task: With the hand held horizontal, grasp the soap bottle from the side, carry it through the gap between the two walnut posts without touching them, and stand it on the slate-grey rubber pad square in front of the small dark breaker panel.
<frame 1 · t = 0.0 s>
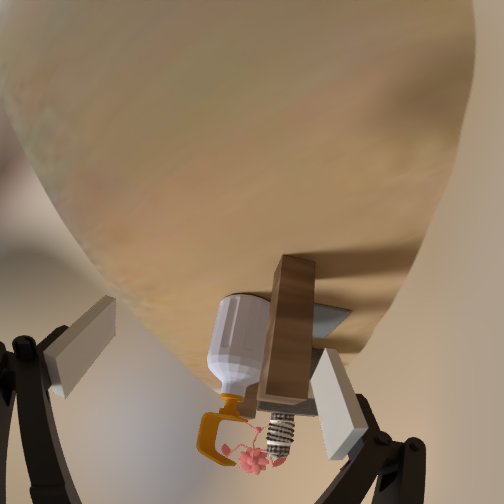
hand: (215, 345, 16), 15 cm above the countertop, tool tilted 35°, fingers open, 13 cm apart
breaker panel: (295, 347, 54), on the countertop
figurine: (263, 397, 105), on the countertop
gate: (270, 312, 44), on the countertop
decorative candle: (286, 389, 87), on the countertop
pad: (308, 320, 44), on the countertop
soap bottle: (248, 306, 44), on the countertop
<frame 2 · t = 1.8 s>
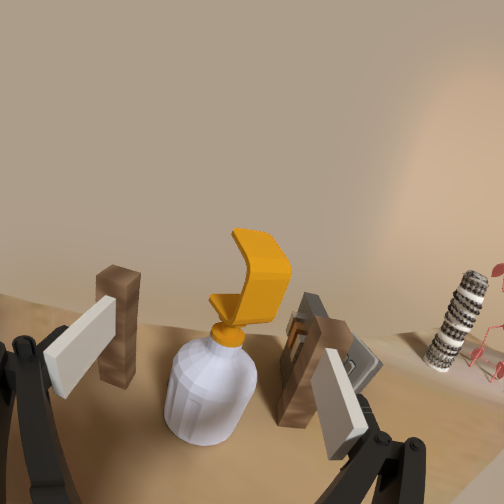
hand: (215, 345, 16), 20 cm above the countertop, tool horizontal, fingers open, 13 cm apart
breaker panel: (288, 381, 42), on the countertop
figurine: (485, 369, 53), on the countertop
gate: (202, 402, 33), on the countertop
decorative candle: (435, 363, 55), on the countertop
electrical switch: (340, 384, 44), on the countertop
soap bottle: (198, 419, 30), on the countertop
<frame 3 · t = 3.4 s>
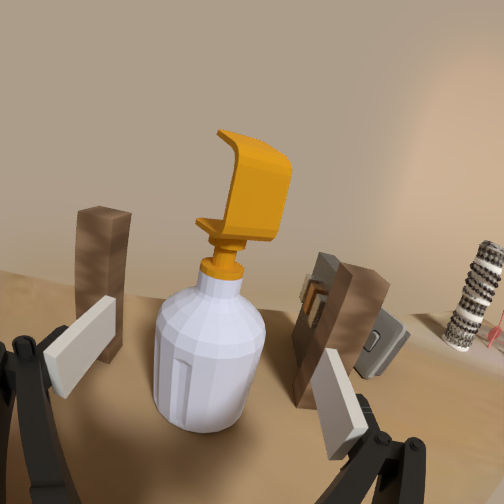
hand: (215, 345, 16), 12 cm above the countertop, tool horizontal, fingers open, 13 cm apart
breaker panel: (304, 357, 37), on the countertop
figurine: (503, 351, 48), on the countertop
gate: (203, 380, 28), on the countertop
decorative candle: (454, 343, 50), on the countertop
electrical switch: (361, 362, 38), on the countertop
soap bottle: (198, 402, 25), on the countertop
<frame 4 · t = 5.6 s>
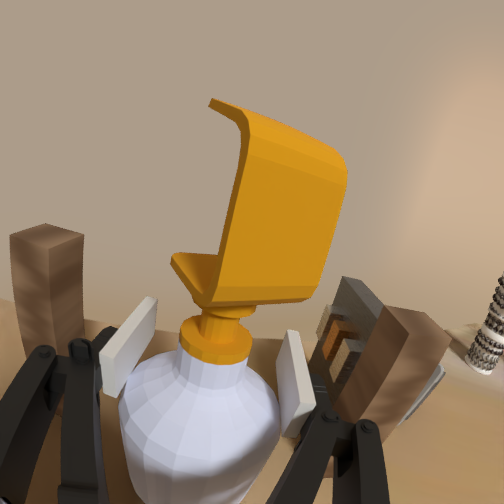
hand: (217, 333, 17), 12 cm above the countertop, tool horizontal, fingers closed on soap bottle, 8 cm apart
breaker panel: (320, 404, 28), on the countertop
gate: (194, 447, 19), on the countertop
decorative candle: (477, 365, 40), on the countertop
electrical switch: (385, 403, 29), on the countertop
soap bottle: (187, 479, 16), on the countertop, touching gripper
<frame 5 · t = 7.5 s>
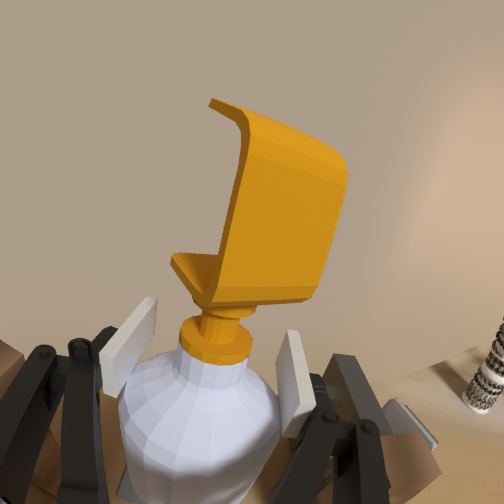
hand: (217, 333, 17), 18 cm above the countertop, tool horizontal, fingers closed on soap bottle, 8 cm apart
breaker panel: (303, 474, 23), on the countertop
decorative candle: (475, 402, 36), on the countertop
pad: (182, 475, 20), on the countertop
electrical switch: (373, 464, 24), on the countertop
soap bottle: (187, 479, 16), point 6 cm above the countertop, touching gripper
when the fingers open (13 cm above the countertop, at t = 9.4 s): soap bottle drops 1 cm, resting on pad.
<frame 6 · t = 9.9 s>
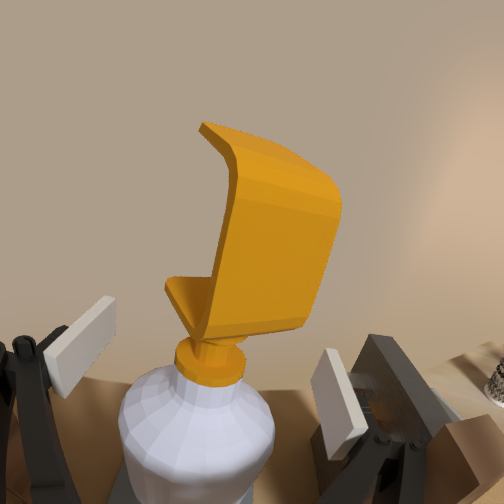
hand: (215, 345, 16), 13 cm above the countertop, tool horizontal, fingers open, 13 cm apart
breaker panel: (329, 480, 18), on the countertop
decorative candle: (496, 396, 31), on the countertop
pad: (186, 484, 16), on the countertop
soap bottle: (185, 484, 16), resting on pad
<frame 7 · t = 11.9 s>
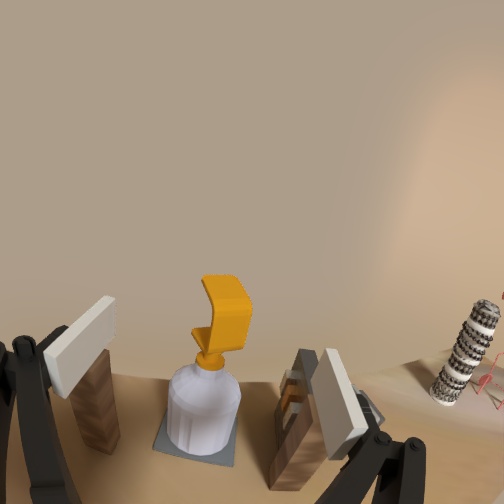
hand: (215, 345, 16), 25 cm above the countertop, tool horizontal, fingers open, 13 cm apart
breaker panel: (283, 437, 36), on the countertop
figurine: (493, 395, 46), on the countertop
gate: (190, 467, 27), on the countertop
decorative candle: (442, 396, 48), on the countertop
pad: (197, 434, 33), on the countertop
electrical switch: (339, 436, 37), on the countertop
soap bottle: (197, 433, 33), resting on pad
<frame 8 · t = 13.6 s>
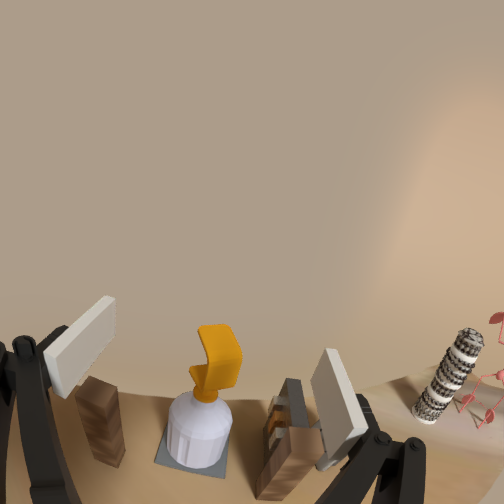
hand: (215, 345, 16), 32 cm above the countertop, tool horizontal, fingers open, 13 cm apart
breaker panel: (270, 452, 39), on the countertop
figurine: (475, 413, 49), on the countertop
gate: (187, 479, 30), on the countertop
decorative candle: (423, 414, 51), on the countertop
pad: (194, 449, 36), on the countertop
electrical switch: (321, 452, 40), on the countertop
soap bottle: (194, 448, 36), resting on pad
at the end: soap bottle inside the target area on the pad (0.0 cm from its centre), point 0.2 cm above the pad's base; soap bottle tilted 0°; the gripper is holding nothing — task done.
